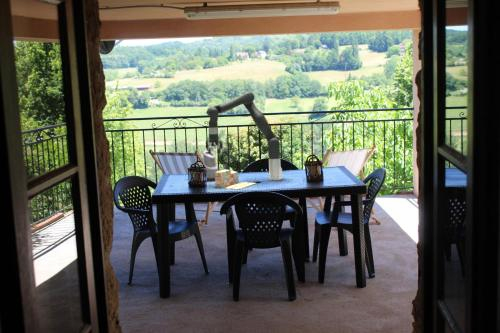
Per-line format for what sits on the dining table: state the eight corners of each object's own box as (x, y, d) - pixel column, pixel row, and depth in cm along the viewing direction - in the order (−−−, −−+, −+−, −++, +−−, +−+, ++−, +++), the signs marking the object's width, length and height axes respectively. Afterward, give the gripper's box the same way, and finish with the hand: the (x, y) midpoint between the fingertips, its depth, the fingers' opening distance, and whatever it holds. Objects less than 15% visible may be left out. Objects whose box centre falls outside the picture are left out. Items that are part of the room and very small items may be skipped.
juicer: (225, 179, 565) (224, 149, 561) (212, 182, 553) (210, 152, 549) (199, 177, 585) (198, 148, 581) (186, 180, 573) (184, 150, 569)
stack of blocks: (232, 183, 547) (231, 167, 545) (238, 183, 543) (238, 168, 541) (215, 187, 530) (214, 171, 528) (221, 188, 526) (220, 172, 524)
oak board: (256, 183, 538) (256, 182, 538) (240, 189, 516) (240, 188, 516) (240, 182, 545) (240, 182, 545) (223, 188, 523) (223, 188, 522)
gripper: (223, 132, 535) (224, 153, 537) (208, 132, 542) (209, 153, 544) (218, 133, 528) (219, 154, 531) (203, 133, 535) (204, 154, 538)
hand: (214, 153), depth 537 cm, fingers open, 8 cm apart
